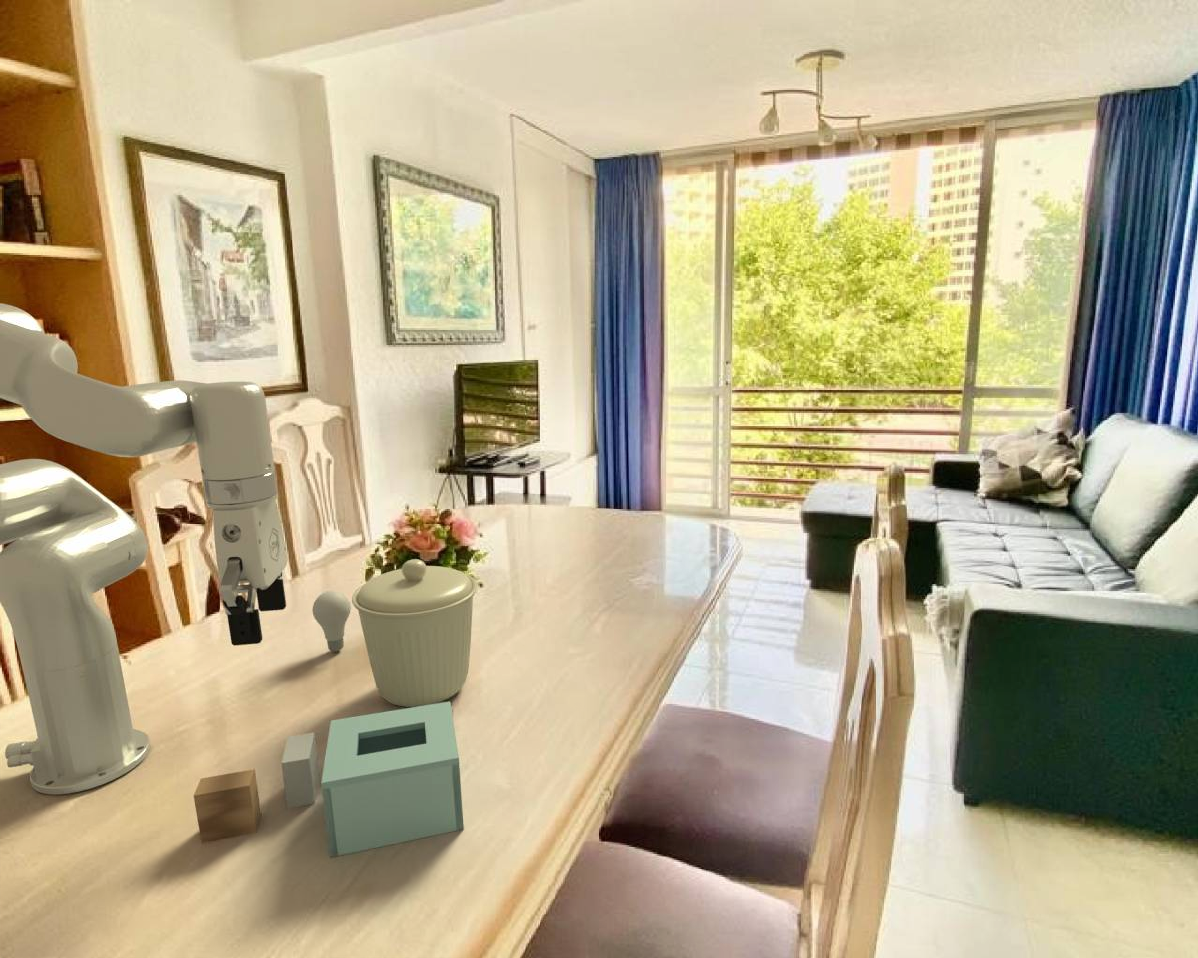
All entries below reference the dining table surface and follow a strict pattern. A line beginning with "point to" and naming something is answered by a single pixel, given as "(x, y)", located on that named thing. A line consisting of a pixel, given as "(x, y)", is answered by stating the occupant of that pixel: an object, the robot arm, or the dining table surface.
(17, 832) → the dining table surface
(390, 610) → the canister
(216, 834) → the wooden block
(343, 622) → the lightbulb
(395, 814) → the coin box
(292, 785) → the gray rectangular block
